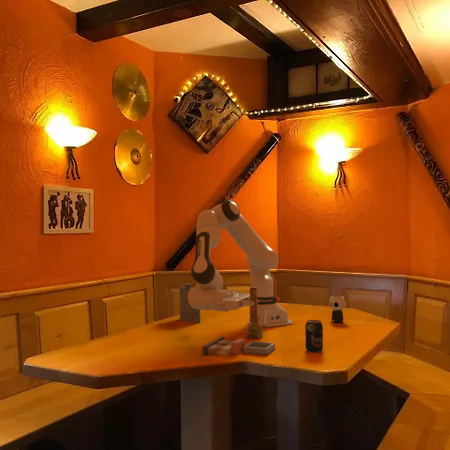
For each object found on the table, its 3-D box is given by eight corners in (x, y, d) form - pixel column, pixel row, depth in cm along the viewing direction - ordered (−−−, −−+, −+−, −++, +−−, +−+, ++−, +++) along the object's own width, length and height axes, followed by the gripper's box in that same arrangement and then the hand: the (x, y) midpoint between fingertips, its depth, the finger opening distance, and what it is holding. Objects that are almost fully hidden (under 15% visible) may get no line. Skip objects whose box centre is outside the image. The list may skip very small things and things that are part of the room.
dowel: (255, 320, 206) (255, 286, 206) (258, 322, 204) (258, 287, 203) (248, 321, 206) (248, 287, 205) (251, 322, 203) (251, 288, 202)
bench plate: (205, 353, 201) (204, 347, 201) (218, 345, 214) (218, 339, 214) (228, 355, 198) (228, 349, 198) (240, 347, 211) (240, 341, 210)
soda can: (314, 354, 199) (314, 323, 199) (302, 350, 205) (301, 321, 205) (326, 351, 203) (326, 321, 203) (314, 347, 209) (313, 318, 209)
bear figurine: (324, 321, 263) (324, 296, 263) (333, 319, 268) (333, 294, 267) (341, 324, 255) (341, 298, 254) (350, 322, 259) (350, 297, 259)
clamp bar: (202, 355, 199) (202, 346, 199) (221, 344, 217) (221, 335, 217) (206, 355, 199) (206, 346, 199) (224, 344, 216) (224, 336, 216)
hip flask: (201, 322, 262) (201, 284, 262) (195, 324, 259) (195, 285, 259) (183, 318, 274) (182, 281, 274) (177, 319, 271) (176, 282, 271)
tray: (243, 353, 202) (243, 346, 202) (251, 347, 211) (251, 341, 211) (267, 355, 198) (267, 349, 198) (274, 349, 207) (274, 343, 207)
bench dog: (231, 354, 200) (231, 342, 200) (238, 349, 208) (238, 338, 208) (238, 354, 199) (238, 343, 199) (245, 349, 207) (245, 338, 207)
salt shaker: (248, 339, 225) (248, 316, 225) (245, 335, 232) (244, 313, 232) (264, 338, 227) (264, 316, 226) (260, 334, 234) (260, 313, 234)
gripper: (213, 296, 200) (246, 298, 195) (233, 289, 219) (263, 291, 213) (214, 312, 200) (246, 314, 195) (233, 304, 219) (263, 306, 213)
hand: (255, 302), depth 204 cm, fingers closed on dowel, 3 cm apart
